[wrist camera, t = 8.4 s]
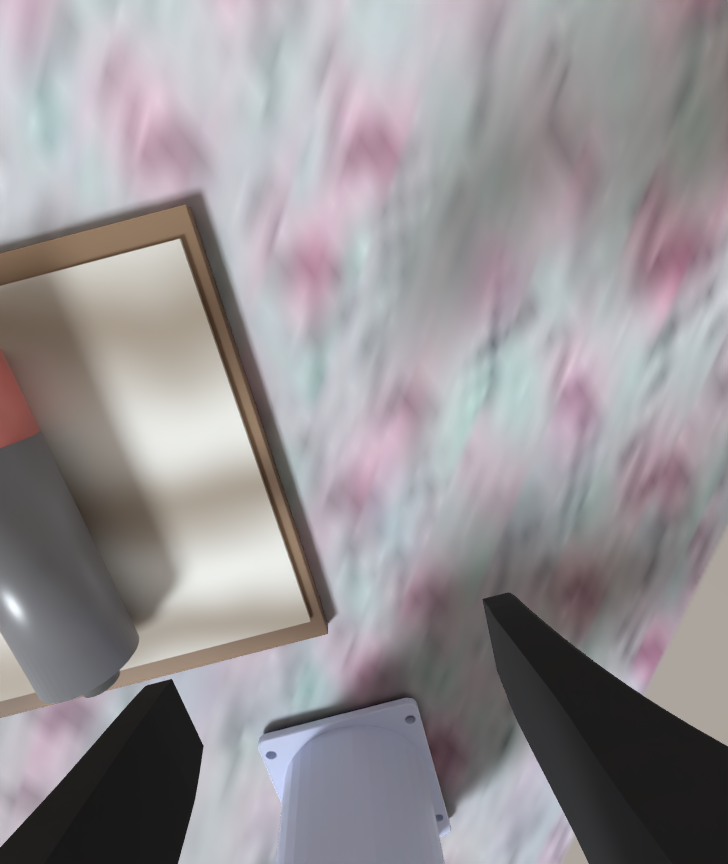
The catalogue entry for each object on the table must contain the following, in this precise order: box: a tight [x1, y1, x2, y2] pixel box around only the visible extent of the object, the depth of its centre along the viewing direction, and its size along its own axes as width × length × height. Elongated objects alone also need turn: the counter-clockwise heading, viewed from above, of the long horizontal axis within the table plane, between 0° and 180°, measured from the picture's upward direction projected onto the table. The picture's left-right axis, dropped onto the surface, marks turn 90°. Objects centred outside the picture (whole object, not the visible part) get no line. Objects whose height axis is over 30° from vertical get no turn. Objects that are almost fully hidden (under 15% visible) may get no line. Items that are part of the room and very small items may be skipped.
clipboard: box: [0, 205, 328, 718], centre depth 18 cm, size 18×20×1 cm
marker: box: [0, 347, 139, 703], centre depth 16 cm, size 13×4×4 cm
